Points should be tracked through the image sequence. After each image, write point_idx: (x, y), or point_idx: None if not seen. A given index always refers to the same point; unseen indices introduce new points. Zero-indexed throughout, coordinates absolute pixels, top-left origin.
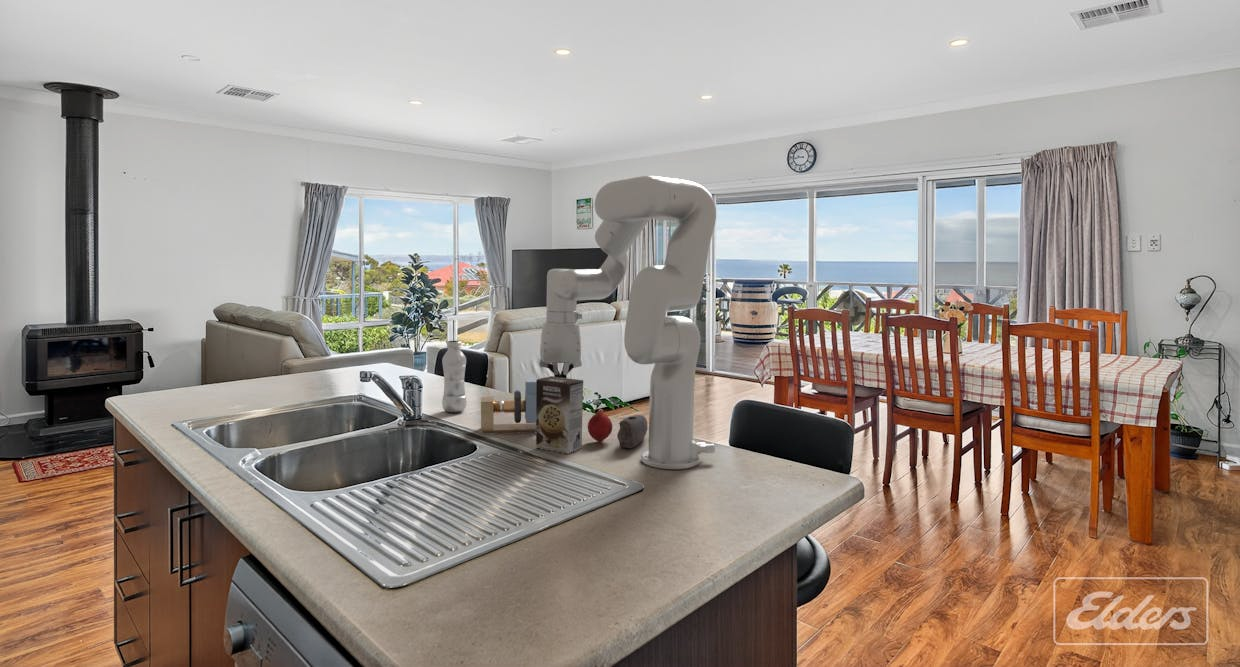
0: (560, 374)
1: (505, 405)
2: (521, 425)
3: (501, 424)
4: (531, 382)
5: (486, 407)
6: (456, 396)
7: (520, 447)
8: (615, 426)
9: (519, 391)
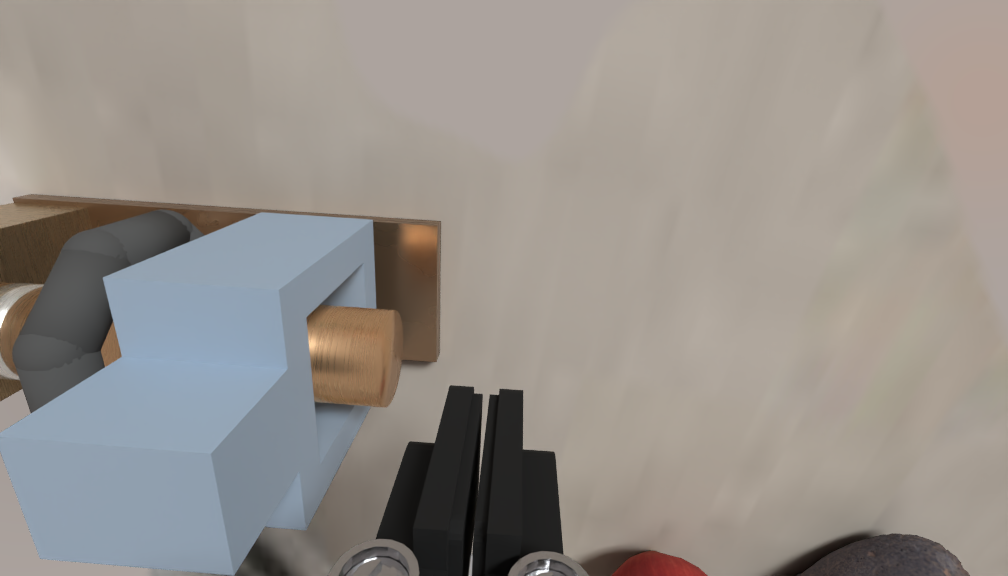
0: (472, 564)
1: None
2: None
3: (135, 211)
4: (112, 560)
5: None
6: None
7: (296, 555)
8: (858, 304)
9: (61, 388)
